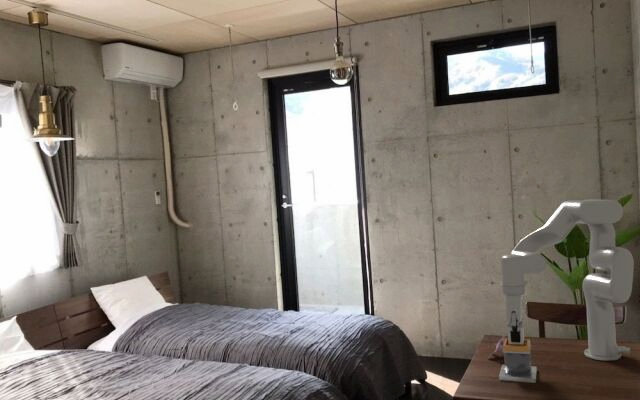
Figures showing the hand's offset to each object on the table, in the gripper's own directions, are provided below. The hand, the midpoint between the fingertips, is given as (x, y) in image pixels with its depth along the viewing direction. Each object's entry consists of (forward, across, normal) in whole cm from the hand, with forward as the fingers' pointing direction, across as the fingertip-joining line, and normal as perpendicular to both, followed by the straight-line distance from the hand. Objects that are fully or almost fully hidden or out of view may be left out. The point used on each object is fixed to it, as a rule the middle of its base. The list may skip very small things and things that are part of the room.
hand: (516, 339), depth 202 cm
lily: (+13, -18, -8) cm, 24 cm away
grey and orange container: (+13, 0, 0) cm, 13 cm away
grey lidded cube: (+1, 0, 0) cm, 1 cm away
